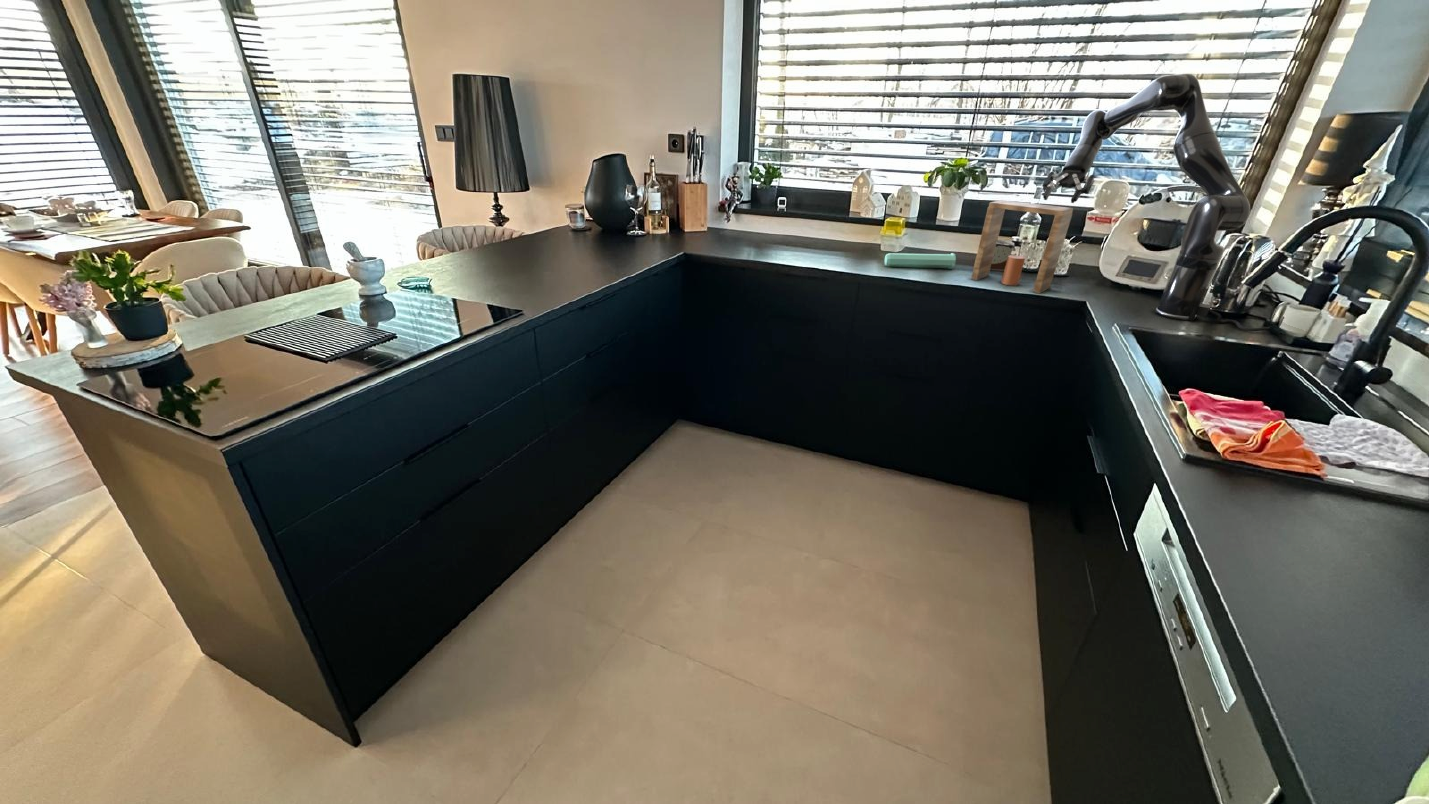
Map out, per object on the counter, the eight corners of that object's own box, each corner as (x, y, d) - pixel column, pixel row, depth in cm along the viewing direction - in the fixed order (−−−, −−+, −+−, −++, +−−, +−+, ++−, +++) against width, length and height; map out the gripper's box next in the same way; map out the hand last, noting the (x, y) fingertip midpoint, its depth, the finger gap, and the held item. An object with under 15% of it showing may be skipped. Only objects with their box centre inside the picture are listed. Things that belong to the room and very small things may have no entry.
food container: (1002, 266, 211) (1009, 239, 207) (1008, 270, 206) (1016, 243, 201) (969, 265, 212) (975, 238, 208) (974, 269, 207) (981, 241, 202)
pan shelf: (1049, 288, 186) (1074, 208, 174) (1039, 293, 179) (1063, 210, 168) (982, 274, 200) (1001, 199, 188) (970, 279, 193) (989, 202, 182)
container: (886, 250, 204) (956, 251, 202) (882, 253, 210) (950, 254, 208) (885, 266, 204) (955, 268, 203) (882, 269, 210) (949, 270, 209)
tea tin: (1020, 283, 190) (1027, 257, 185) (1014, 286, 186) (1021, 259, 182) (1004, 280, 193) (1011, 254, 189) (998, 283, 190) (1005, 256, 185)
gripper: (1057, 152, 193) (1035, 190, 191) (1103, 155, 184) (1081, 194, 182) (1057, 168, 198) (1036, 204, 196) (1102, 171, 189) (1081, 209, 187)
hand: (1058, 199), depth 189 cm, fingers open, 8 cm apart
